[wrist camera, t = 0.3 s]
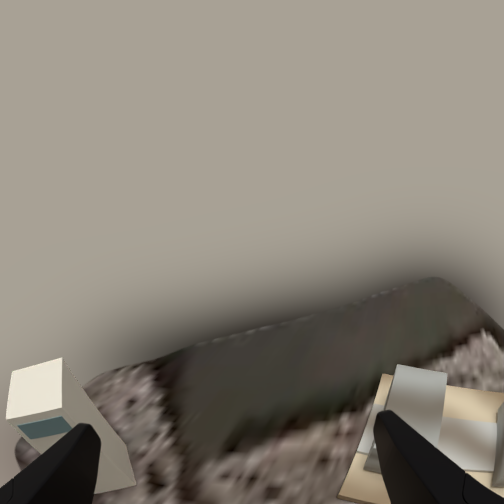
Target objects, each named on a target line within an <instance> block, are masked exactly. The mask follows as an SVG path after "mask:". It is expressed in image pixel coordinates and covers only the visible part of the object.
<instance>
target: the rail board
mask: <svg viewBox="0 0 504 504" xmlns="http://www.w3.org/2000/svg"><path fill="white" fill-rule="evenodd" d="M446 382H447V373H442V372H436V371H431V370H425V369H419V368H414V367H409V366H404V365H398V364H397V367H396V370H395V373H394V376H392V375H387V374H382V378H381V381H380V385H379V388H378V391H377V394H376V398H375V401H374V404H373V407H372V410H371V413H370V416H369V419H368V422H367V425H366V428H365V430H364V433H363V436H362V439H361V441H360V444H359V447H358V449H357V452H356V454H355V457H354V459H353V462H352V464H351V467H350V469H349V472H348V474H347V476H346V479H345V481H344V483H343V485H342V488H341V490H340V492H339V494H338V496H337V498H339V499H343V500H347V501H351V502H355V503H359V504H391V502H390V499H389V496H388V493H387V490H386V487H385V484H384V481H383V477H382V474H381V469H380V464H379V459H378V454H377V449H376V444H375V439H374V434H373V427H374V423H375V419H376V415H377V413H378V412H380V411H384V410H392V411H393V412H394V413H396V414H397V415H398V416H399V417H400V418H402V419H403V420H404V421H405V422H406V423H407V424H409V425H410V426H411V427H412V428H413V429H415V430H416V431H417V432H418V433H419V434H421V435H422V436H423V437H424V438H425V439H427V440H428V441H429V442H430V443H431V444H433V445H434V446H435V447H436V448H437V449H439V450H440V451H441V452H442V453H444V454H445V455H446V456H447V457H448V458H450V459H451V460H452V461H453V462H455V463H456V464H457V465H458V466H459V467H461V468H462V469H463V470H464V471H465V473H468V474H470V475H471V476H472V477H473V478H475V479H476V480H477V481H479V482H480V483H481V484H483V485H484V486H485V487H487V488H488V489H490V490H492V491H493V492H495V493H496V494H498V495H500V496H502V497H503V498H504V393H498V392H489V391H481V390H474V389H467V388H460V387H453V386H447V385H446Z"/></svg>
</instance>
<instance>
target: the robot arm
mask: <svg viewBox="0 0 504 504" xmlns="http://www.w3.org/2000/svg"><path fill="white" fill-rule="evenodd" d="M373 434H374V439H375V444H376V449H377V454H378V459H379V464H380V469H381V474H382V477H383V481H384V484H385V487H386V490H387V493H388V496H389V499H390V502H391V504H504V498H503V497H502V496H500V495H498V494H496V493H495V492H493V491H492V490H490V489H488V488H487V487H485V486H484V485H483V484H481V483H480V482H479V481H477V480H476V479H475V478H473V477H472V476H471V475H470V474H468V473H465V471H464V470H463V469H462V468H461V467H459V466H458V465H457V464H456V463H455V462H453V461H452V460H451V459H450V458H448V457H447V456H446V455H445V454H444V453H442V452H441V451H440V450H439V449H437V448H436V447H435V446H434V445H433V444H431V443H430V442H429V441H428V440H427V439H425V438H424V437H423V436H422V435H421V434H419V433H418V432H417V431H416V430H415V429H413V428H412V427H411V426H410V425H409V424H407V423H406V422H405V421H404V420H403V419H402V418H400V417H399V416H398V415H397V414H396V413H394V412H393V411H392V410H384V411H380V412H378V413H377V415H376V419H375V423H374V427H373ZM100 451H101V439H100V437H99V435H98V434H97V432H96V431H95V429H94V428H93V426H92V425H91V424H88V423H78V424H77V425H76V426H75V427H73V428H72V429H71V430H70V431H69V432H68V433H66V434H65V435H64V436H63V437H62V438H60V439H59V440H58V441H57V442H56V443H54V444H53V445H52V446H51V447H50V448H49V449H47V450H46V451H45V452H44V453H43V454H41V455H40V456H39V457H38V458H37V459H35V460H34V461H33V462H32V463H30V464H29V465H28V466H27V467H26V468H24V469H23V470H22V471H21V472H20V473H18V474H17V475H16V476H15V477H14V479H11V480H10V481H9V482H7V483H6V484H5V485H3V486H2V487H1V488H0V504H92V501H93V496H94V492H95V487H96V482H97V476H98V467H99V459H100Z"/></svg>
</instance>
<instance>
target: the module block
mask: <svg viewBox="0 0 504 504" xmlns="http://www.w3.org/2000/svg"><path fill="white" fill-rule="evenodd" d="M6 420H7V421H8V422H9V423H10V425H12V427H13V428H14V429H15V430H16V431H17V432H18V433H19V434H20V435H21V436H22V437H23V438H24V439H25V440H26V441H27V442H28V443H29V444H31V445H32V446H33V447H34V448H35V449H36V450H37V451H38V452H39V453H40V454H43V453H44V452H45V451H46V450H47V449H49V448H50V447H51V446H52V445H53V444H54V443H56V442H57V441H58V440H59V439H60V438H62V437H63V436H64V435H65V434H66V433H68V432H69V431H70V430H71V429H72V428H73V427H75V426H76V425H77V424H78V423H88V424H91V425H92V426H93V428H94V429H95V431H96V432H97V434H98V435H99V437H100V439H101V451H100V459H99V467H98V476H97V482H96V487H95V492H94V494H98V493H103V492H108V491H113V490H118V489H122V488H127V487H131V486H135V485H137V484H136V481H135V477H134V474H133V470H132V466H131V463H130V459H129V455H128V451H127V447H126V444H125V443H124V442H123V441H122V440H121V439H120V437H119V436H118V435H117V434H116V432H115V431H114V430H113V429H112V427H111V426H110V425H109V424H108V422H107V421H106V420H105V419H104V417H103V416H102V415H101V413H100V412H99V411H98V409H97V408H96V407H95V405H94V404H93V403H92V401H91V400H90V398H89V397H88V396H87V394H86V393H85V391H84V390H83V388H82V387H81V386H80V384H79V383H78V381H77V380H76V378H75V377H74V375H73V374H72V372H71V370H70V369H69V367H68V366H67V364H66V363H65V361H64V359H63V358H58V359H55V360H52V361H48V362H45V363H41V364H38V365H34V366H30V367H27V368H23V369H19V370H15V371H12V376H11V382H10V390H9V396H8V404H7V412H6Z"/></svg>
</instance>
